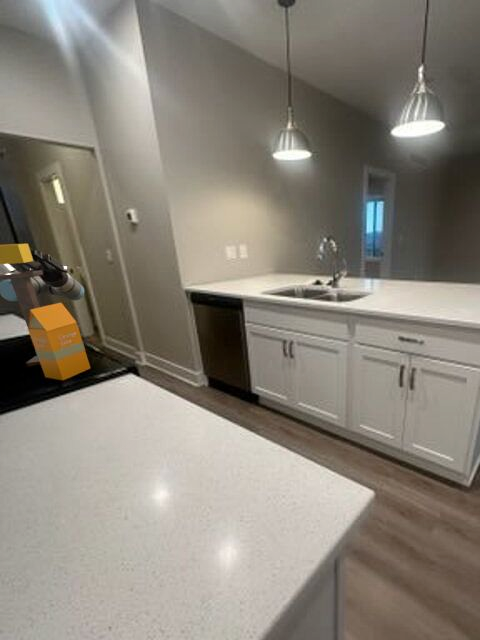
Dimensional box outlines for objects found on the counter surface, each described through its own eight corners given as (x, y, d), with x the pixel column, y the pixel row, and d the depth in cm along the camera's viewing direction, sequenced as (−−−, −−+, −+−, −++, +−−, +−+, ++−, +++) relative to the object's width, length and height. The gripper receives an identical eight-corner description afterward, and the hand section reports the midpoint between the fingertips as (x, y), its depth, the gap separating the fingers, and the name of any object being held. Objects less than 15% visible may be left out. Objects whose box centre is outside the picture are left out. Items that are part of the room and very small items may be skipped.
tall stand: (27, 366, 108) (-8, 275, 97) (36, 359, 114) (4, 273, 103) (62, 362, 110) (32, 272, 99) (69, 355, 116) (42, 270, 105)
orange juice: (44, 377, 99) (19, 309, 91) (73, 365, 106) (52, 301, 99) (63, 380, 96) (39, 310, 88) (91, 368, 103) (71, 302, 96)
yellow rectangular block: (-5, 264, 97) (-12, 246, 95) (21, 260, 110) (15, 243, 108) (23, 262, 98) (17, 244, 96) (45, 258, 111) (40, 242, 109)
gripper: (32, 270, 124) (-13, 237, 101) (79, 266, 127) (45, 234, 105) (33, 289, 123) (-12, 261, 100) (81, 286, 126) (47, 257, 104)
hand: (17, 247), depth 103 cm, fingers closed on yellow rectangular block, 2 cm apart
